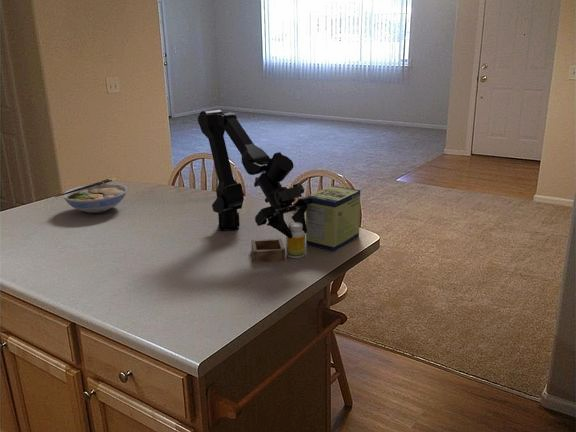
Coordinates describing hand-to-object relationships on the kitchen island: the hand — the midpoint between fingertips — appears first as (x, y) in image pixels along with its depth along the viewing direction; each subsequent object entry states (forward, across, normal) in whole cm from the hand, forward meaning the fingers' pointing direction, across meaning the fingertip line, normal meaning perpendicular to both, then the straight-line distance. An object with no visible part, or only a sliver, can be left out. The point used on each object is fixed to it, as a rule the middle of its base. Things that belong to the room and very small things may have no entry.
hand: (298, 235), depth 151 cm
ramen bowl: (-54, -25, +64) cm, 88 cm away
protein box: (+3, +16, +6) cm, 18 cm away
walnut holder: (0, -6, +9) cm, 11 cm away
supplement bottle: (+4, 0, +6) cm, 7 cm away
